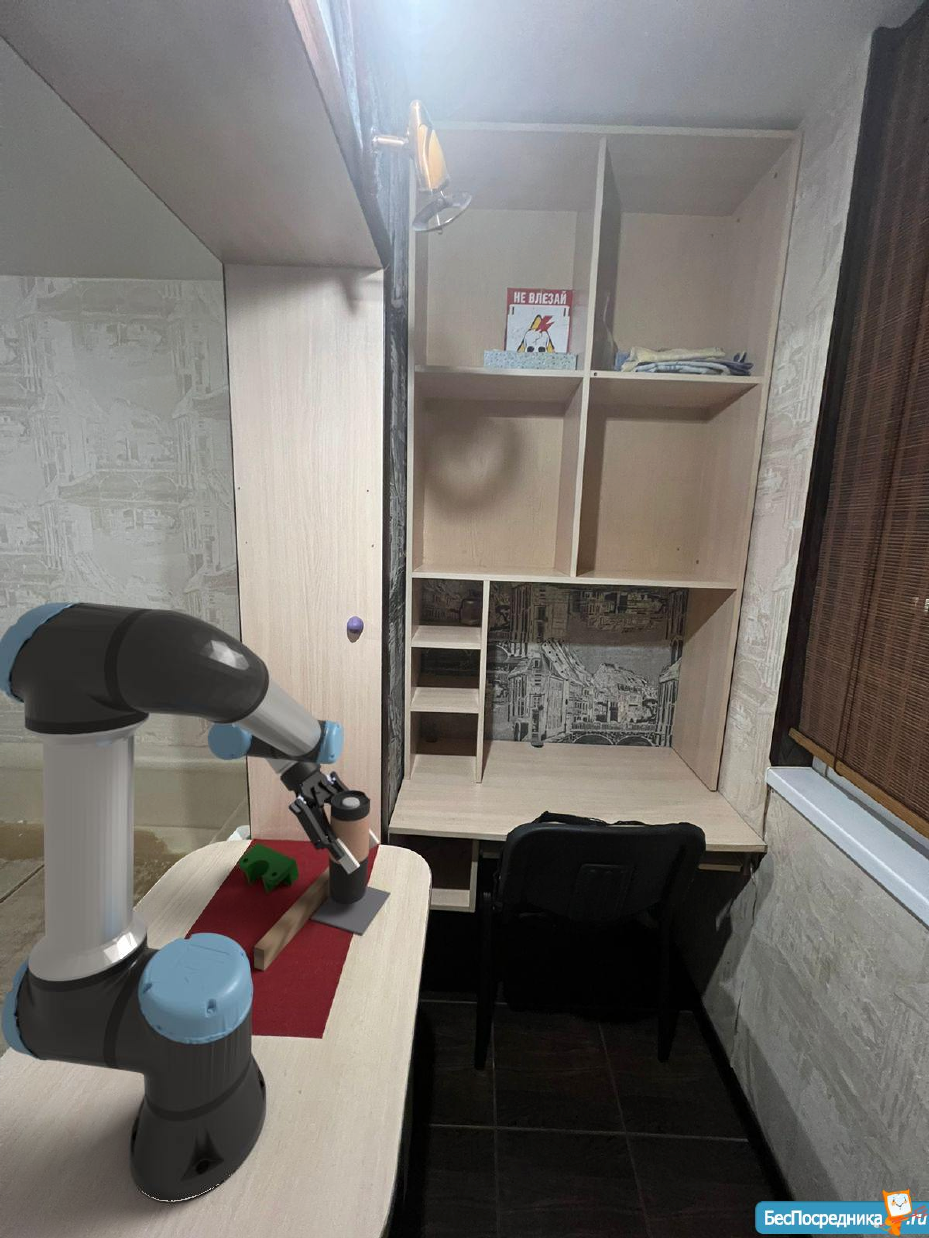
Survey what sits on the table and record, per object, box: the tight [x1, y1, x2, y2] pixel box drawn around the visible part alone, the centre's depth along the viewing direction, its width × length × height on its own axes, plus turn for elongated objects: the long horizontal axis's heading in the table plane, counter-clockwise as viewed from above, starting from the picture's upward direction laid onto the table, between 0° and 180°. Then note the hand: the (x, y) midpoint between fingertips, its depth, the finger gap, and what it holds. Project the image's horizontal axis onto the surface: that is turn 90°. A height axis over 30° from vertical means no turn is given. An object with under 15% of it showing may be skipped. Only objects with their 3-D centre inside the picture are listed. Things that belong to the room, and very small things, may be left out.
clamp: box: [237, 842, 300, 894], centre depth 110 cm, size 12×6×9 cm, turn 57°
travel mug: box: [328, 789, 371, 904], centre depth 103 cm, size 8×8×20 cm
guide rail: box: [253, 866, 330, 972], centre depth 100 cm, size 25×2×4 cm, turn 163°
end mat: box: [310, 885, 391, 936], centre depth 104 cm, size 12×11×1 cm
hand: (364, 857), depth 102 cm, fingers closed on travel mug, 7 cm apart
